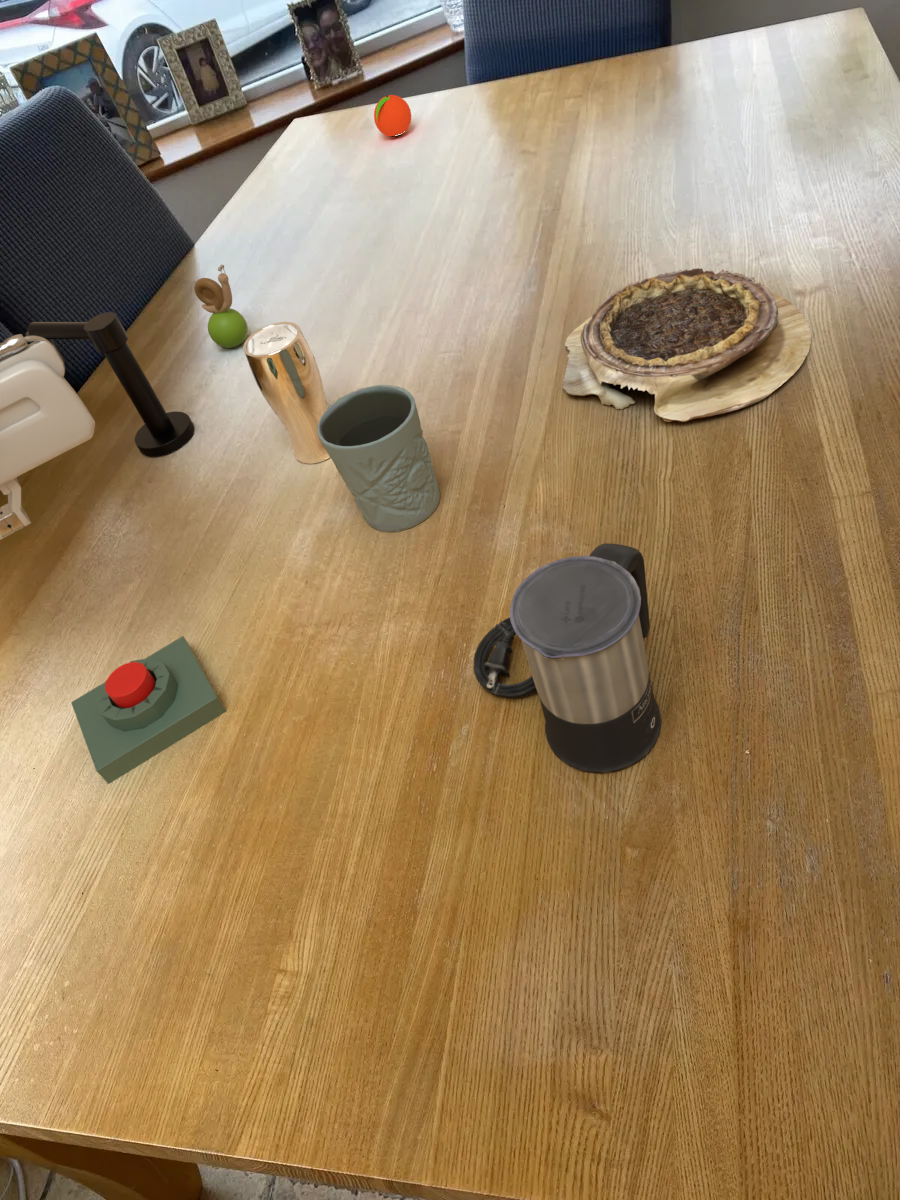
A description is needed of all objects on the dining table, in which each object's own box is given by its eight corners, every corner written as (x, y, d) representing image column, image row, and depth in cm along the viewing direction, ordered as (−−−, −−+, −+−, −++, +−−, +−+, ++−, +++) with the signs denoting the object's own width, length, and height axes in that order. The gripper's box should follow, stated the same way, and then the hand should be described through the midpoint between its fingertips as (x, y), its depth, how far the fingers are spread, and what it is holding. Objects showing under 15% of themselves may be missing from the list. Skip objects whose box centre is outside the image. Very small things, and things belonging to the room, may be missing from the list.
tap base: (149, 465, 119) (92, 372, 109) (133, 440, 124) (77, 349, 114) (202, 436, 120) (151, 341, 110) (184, 413, 125) (133, 320, 116)
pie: (576, 299, 120) (570, 263, 117) (805, 271, 111) (805, 232, 108) (547, 438, 102) (539, 400, 99) (817, 417, 94) (818, 375, 90)
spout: (39, 373, 119) (11, 330, 115) (59, 355, 121) (32, 312, 117) (128, 377, 112) (101, 331, 108) (147, 357, 115) (122, 311, 110)
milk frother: (660, 777, 71) (639, 652, 60) (458, 774, 75) (407, 658, 65) (664, 633, 80) (646, 503, 70) (484, 638, 85) (443, 517, 74)
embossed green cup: (452, 521, 97) (421, 427, 88) (359, 549, 97) (319, 459, 89) (437, 463, 104) (407, 372, 95) (350, 490, 105) (313, 402, 96)
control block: (108, 784, 84) (85, 759, 81) (82, 715, 91) (60, 690, 88) (227, 711, 86) (208, 685, 84) (192, 649, 93) (174, 623, 90)
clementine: (399, 146, 172) (387, 106, 167) (369, 146, 175) (357, 107, 170) (422, 126, 176) (412, 86, 171) (393, 127, 179) (382, 88, 174)
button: (120, 715, 84) (110, 704, 83) (109, 689, 87) (99, 677, 86) (160, 691, 85) (151, 680, 84) (148, 666, 88) (139, 654, 87)
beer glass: (316, 424, 115) (270, 317, 105) (358, 435, 112) (314, 324, 101) (280, 459, 112) (228, 352, 102) (321, 471, 108) (272, 361, 98)
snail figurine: (248, 354, 132) (212, 276, 124) (211, 356, 134) (173, 279, 126) (265, 332, 135) (231, 255, 127) (228, 334, 138) (192, 258, 129)
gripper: (31, 309, 71) (119, 451, 81) (-235, 436, 67) (-108, 570, 77) (48, 338, 67) (139, 485, 77) (-234, 476, 63) (-101, 613, 73)
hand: (13, 528), depth 77 cm, fingers closed
